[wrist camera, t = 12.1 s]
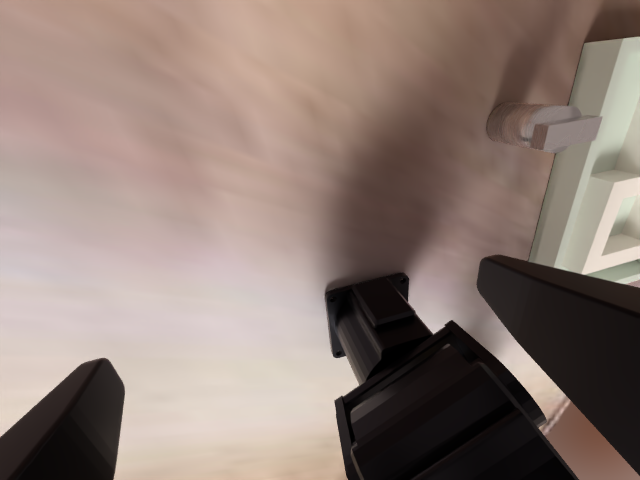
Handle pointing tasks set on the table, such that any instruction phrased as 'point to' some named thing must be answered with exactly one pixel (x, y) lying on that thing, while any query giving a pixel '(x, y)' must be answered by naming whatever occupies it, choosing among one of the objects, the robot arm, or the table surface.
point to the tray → (592, 151)
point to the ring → (609, 212)
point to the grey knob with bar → (541, 126)
